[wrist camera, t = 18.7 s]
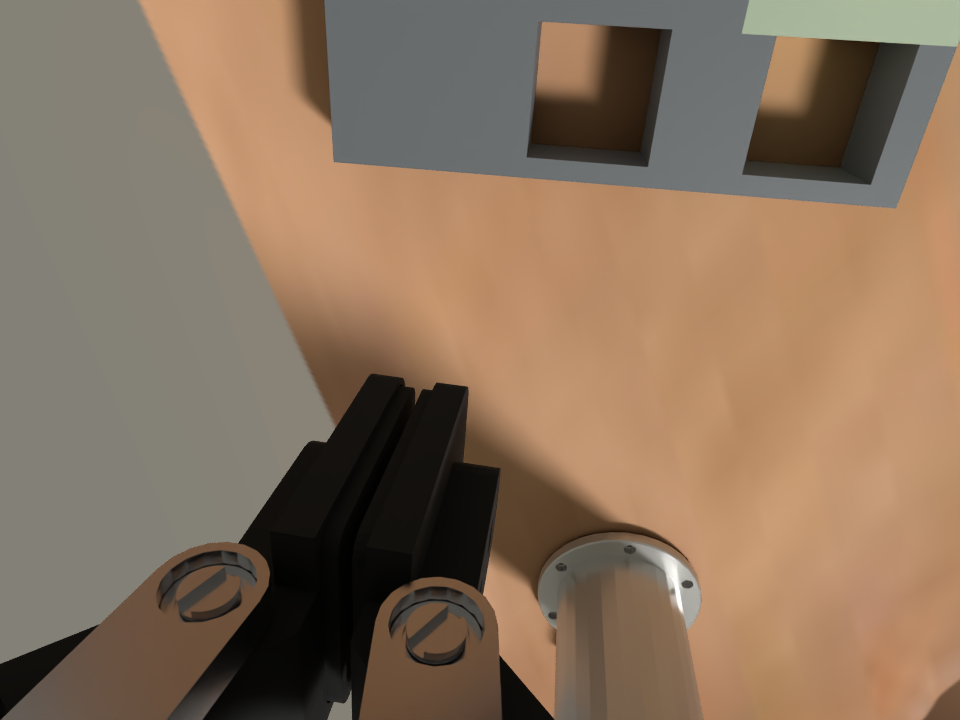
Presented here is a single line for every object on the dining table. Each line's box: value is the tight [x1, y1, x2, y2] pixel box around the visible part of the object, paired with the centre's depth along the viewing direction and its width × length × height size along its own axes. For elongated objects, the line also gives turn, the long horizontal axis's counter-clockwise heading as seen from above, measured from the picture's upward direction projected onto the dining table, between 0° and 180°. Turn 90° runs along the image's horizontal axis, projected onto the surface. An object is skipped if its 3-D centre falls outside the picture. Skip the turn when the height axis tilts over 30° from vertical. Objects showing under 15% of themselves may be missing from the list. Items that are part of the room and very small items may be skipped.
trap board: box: [324, 0, 960, 208], centre depth 30 cm, size 15×28×4 cm, turn 87°
